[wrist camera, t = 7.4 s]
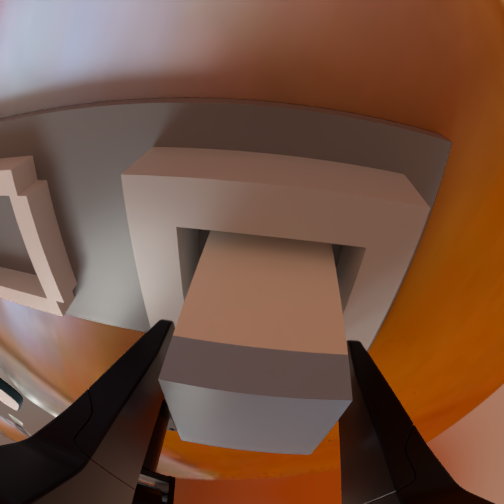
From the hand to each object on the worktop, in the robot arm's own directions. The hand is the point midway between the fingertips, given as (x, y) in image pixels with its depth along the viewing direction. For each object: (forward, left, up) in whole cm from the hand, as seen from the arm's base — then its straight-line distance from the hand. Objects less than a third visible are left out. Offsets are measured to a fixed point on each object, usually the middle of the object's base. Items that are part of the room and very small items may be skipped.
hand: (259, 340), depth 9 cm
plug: (0, 0, -4) cm, 4 cm away
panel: (0, +7, -5) cm, 9 cm away
